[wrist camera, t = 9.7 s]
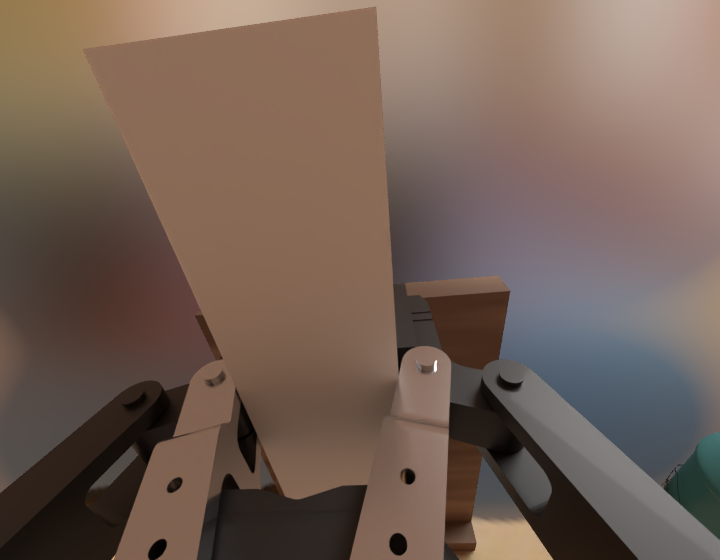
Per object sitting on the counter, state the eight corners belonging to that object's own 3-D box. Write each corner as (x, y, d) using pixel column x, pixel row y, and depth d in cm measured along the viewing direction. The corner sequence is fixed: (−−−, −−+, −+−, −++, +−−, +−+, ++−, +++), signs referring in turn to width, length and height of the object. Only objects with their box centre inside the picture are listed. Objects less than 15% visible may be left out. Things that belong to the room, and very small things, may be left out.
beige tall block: (410, 565, 13) (375, 7, 4) (317, 566, 13) (82, 48, 4) (400, 466, 16) (371, 51, 7) (327, 469, 17) (211, 72, 8)
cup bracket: (512, 706, 20) (687, 525, 7) (272, 703, 21) (14, 543, 8) (462, 498, 30) (491, 266, 17) (303, 503, 31) (215, 289, 18)
